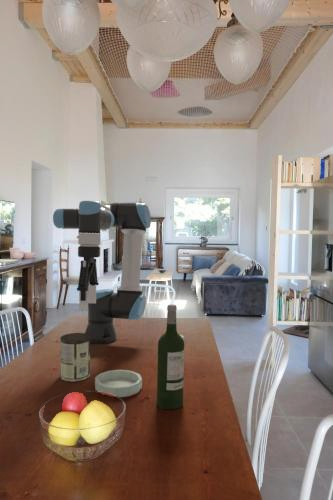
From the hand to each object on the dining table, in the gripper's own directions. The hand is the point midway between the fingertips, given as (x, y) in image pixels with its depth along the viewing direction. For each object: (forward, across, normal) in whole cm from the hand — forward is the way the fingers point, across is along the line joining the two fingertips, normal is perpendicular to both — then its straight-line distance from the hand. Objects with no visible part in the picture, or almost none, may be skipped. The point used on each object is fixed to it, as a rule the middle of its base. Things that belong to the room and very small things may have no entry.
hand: (88, 306), depth 134 cm
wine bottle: (+25, +19, +29) cm, 43 cm away
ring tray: (+25, +8, +12) cm, 29 cm away
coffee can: (+25, -1, -4) cm, 25 cm away
